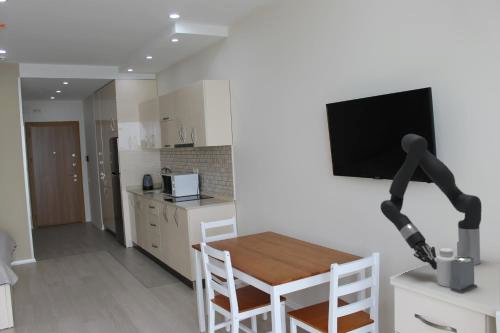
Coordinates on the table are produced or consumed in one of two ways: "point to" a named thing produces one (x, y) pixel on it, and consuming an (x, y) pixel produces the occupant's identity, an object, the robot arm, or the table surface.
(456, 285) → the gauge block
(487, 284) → the table surface
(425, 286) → the table surface
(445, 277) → the pill bottle
